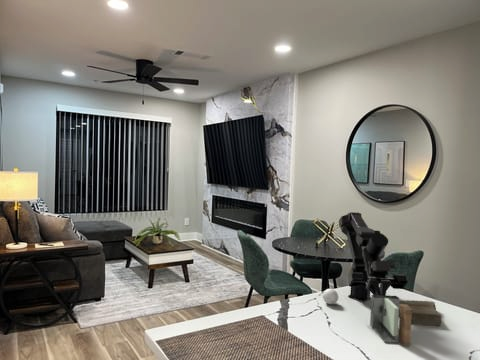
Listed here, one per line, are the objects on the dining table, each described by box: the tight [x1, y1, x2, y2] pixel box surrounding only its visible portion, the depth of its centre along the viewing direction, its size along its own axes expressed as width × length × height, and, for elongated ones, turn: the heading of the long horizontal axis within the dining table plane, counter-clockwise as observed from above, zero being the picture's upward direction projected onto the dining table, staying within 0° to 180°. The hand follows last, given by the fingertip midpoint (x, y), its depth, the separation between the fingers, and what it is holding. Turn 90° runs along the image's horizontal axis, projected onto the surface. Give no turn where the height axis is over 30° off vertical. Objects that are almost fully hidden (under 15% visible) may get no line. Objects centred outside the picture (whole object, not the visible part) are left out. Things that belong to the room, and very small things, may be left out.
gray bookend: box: [369, 294, 401, 344], centre depth 110 cm, size 12×8×10 cm
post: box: [397, 304, 413, 348], centre depth 105 cm, size 4×2×11 cm, turn 178°
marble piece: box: [399, 299, 443, 327], centre depth 125 cm, size 17×15×4 cm
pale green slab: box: [382, 298, 399, 337], centre depth 110 cm, size 8×2×8 cm, turn 179°
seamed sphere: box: [322, 288, 340, 305], centre depth 132 cm, size 8×6×6 cm
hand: (383, 304), depth 116 cm, fingers closed, pressing on gray bookend
